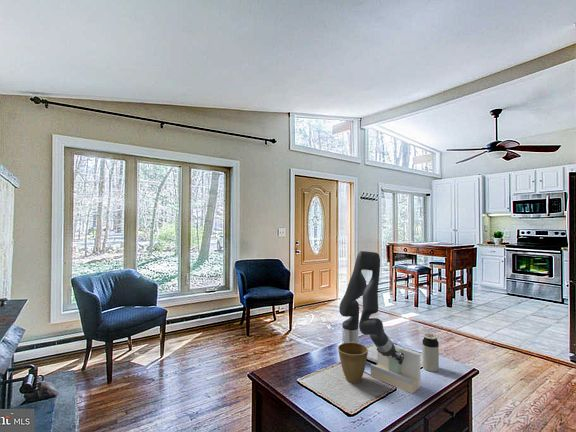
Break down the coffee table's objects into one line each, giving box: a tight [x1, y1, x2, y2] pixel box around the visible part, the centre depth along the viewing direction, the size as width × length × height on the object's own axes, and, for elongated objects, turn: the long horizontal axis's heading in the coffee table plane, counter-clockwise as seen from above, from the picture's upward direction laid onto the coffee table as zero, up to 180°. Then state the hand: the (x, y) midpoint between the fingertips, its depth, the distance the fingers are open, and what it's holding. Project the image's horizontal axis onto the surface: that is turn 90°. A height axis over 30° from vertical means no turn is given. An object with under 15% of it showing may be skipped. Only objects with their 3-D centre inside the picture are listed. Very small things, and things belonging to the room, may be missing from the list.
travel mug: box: [422, 332, 440, 373], centre depth 169 cm, size 8×8×18 cm
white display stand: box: [370, 344, 421, 394], centre depth 157 cm, size 9×22×16 cm, turn 44°
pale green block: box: [389, 348, 401, 374], centre depth 157 cm, size 4×4×11 cm
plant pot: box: [337, 342, 369, 384], centre depth 159 cm, size 15×15×16 cm
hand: (396, 360), depth 158 cm, fingers closed on pale green block, 4 cm apart
